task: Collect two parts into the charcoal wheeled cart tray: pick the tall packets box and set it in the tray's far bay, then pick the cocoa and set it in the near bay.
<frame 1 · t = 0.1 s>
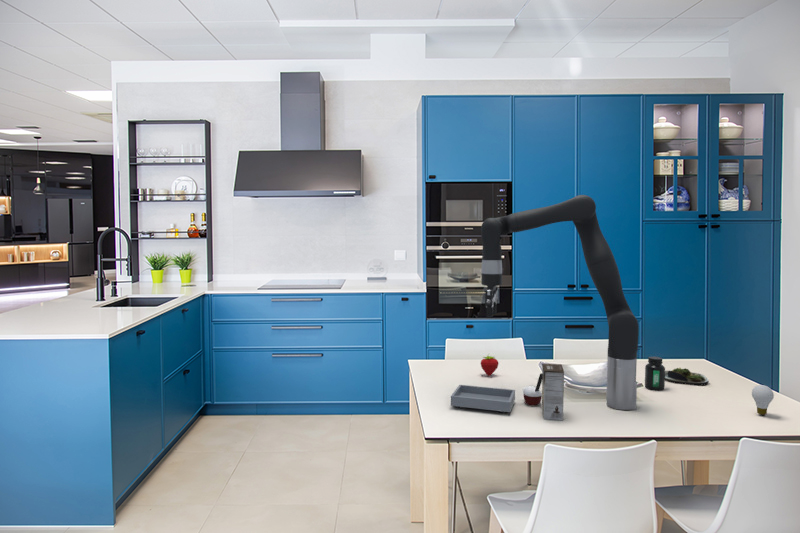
hand: (491, 315, 189), 29 cm above the table, fingers open, 8 cm apart
coffee box: (552, 415, 168), on the table
strawberry: (489, 376, 214), on the table
cart tray: (483, 405, 177), on the table
supplement bottle: (654, 389, 197), on the table
salad plate: (683, 380, 209), on the table
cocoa: (532, 405, 178), on the table
light bulb: (761, 415, 167), on the table
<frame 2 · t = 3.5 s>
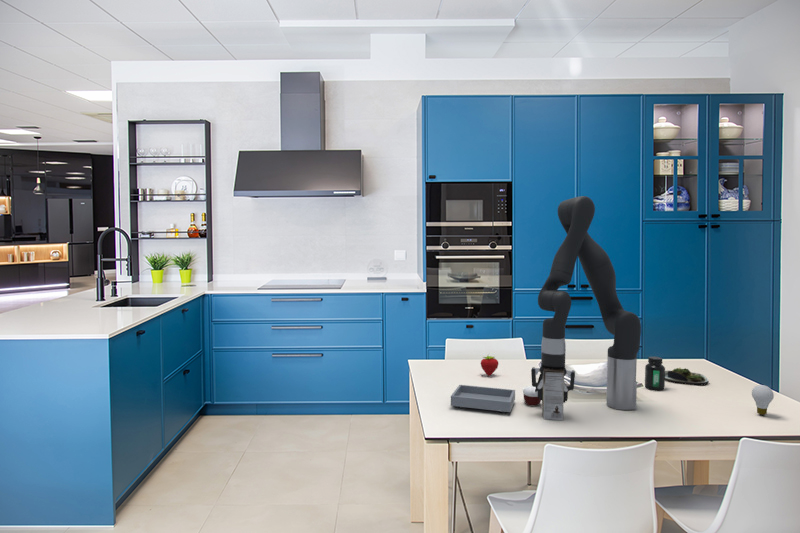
hand: (552, 400, 167), 5 cm above the table, fingers closed on coffee box, 6 cm apart
coffee box: (552, 415, 168), on the table, touching gripper
everything else where it was.
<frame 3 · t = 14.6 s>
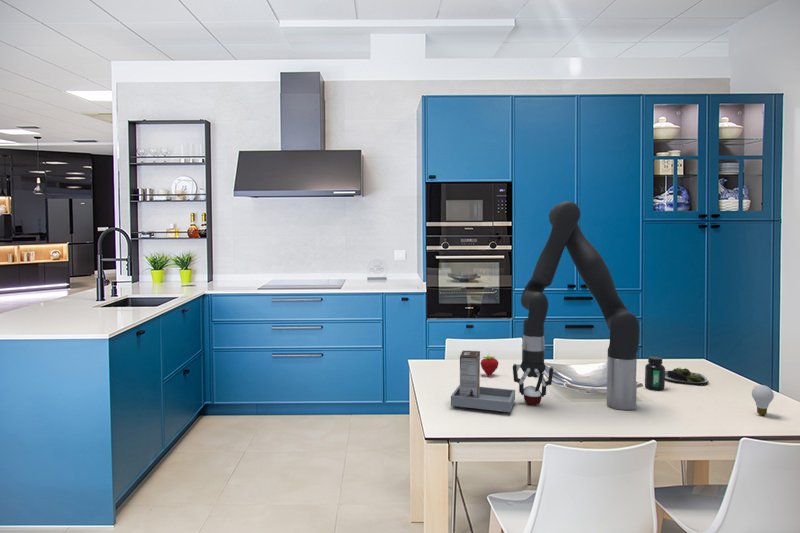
hand: (532, 395, 178), 3 cm above the table, fingers closed on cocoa, 6 cm apart
coffee box: (469, 399, 178), point 2 cm above the table, touching cart tray
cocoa: (532, 404, 178), on the table, touching gripper
everything else where it was.
when the fingers open (7 cm above the table, at t = 20.0 s): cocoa drops 1 cm, resting on cart tray.
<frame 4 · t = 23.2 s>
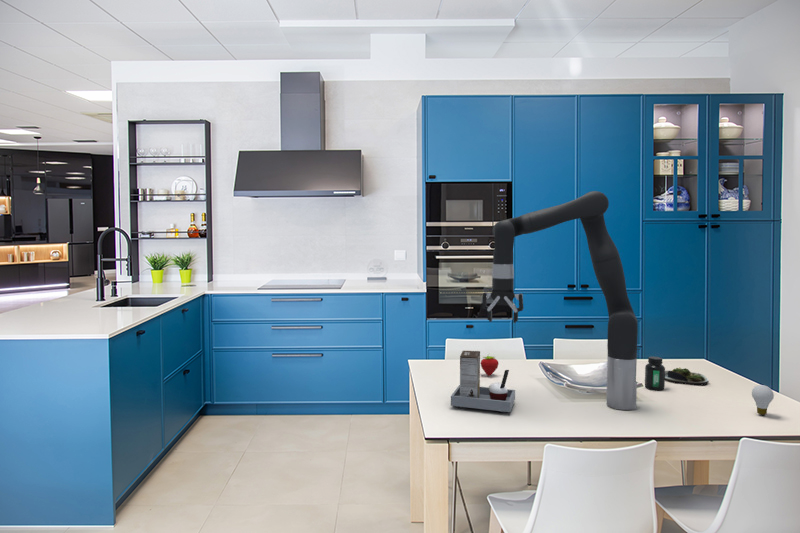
hand: (502, 322, 182), 28 cm above the table, fingers open, 8 cm apart
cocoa: (498, 402, 175), point 2 cm above the table, touching cart tray
everything else where it was.
at the end: coffee box inside the target area on the cart tray (4.7 cm from its centre), point 1.8 cm above the cart tray's base; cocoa inside the target area on the cart tray (5.1 cm from its centre), point 1.8 cm above the cart tray's base; the gripper is holding nothing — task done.
